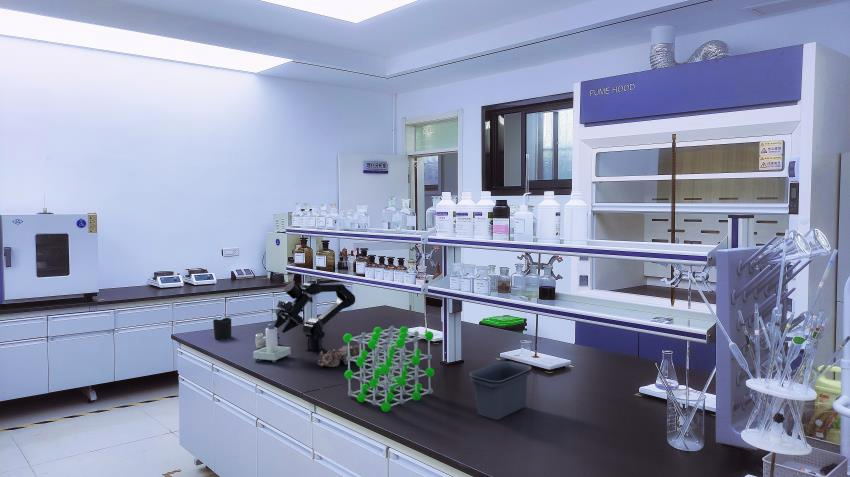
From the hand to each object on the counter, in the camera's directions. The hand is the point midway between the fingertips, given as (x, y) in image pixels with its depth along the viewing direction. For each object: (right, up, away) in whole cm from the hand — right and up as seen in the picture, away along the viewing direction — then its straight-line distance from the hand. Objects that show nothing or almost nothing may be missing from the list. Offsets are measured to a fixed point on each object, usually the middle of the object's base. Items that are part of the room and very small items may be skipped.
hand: (278, 330), depth 271 cm
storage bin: (+94, -16, -74) cm, 121 cm away
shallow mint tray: (-2, -13, -2) cm, 13 cm away
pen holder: (-42, -11, +45) cm, 62 cm away
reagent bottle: (-2, -10, -2) cm, 11 cm away
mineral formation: (+32, -13, -12) cm, 36 cm away
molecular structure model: (+56, -15, -57) cm, 81 cm away
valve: (-12, -12, +25) cm, 30 cm away
